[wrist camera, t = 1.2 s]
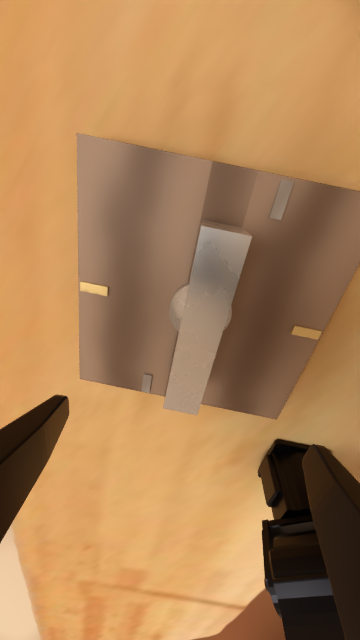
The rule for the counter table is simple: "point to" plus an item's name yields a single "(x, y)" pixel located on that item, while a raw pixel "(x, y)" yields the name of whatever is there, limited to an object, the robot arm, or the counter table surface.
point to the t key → (204, 312)
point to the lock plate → (177, 260)
